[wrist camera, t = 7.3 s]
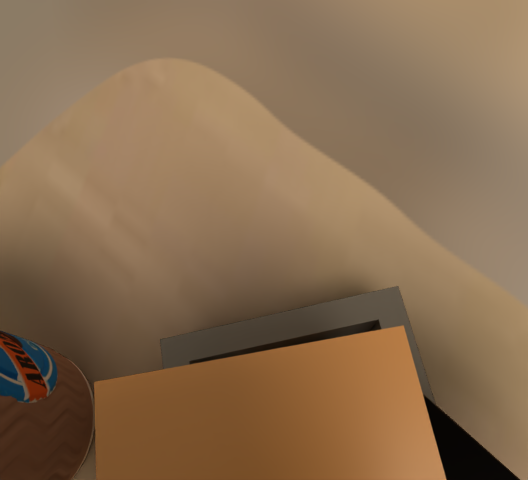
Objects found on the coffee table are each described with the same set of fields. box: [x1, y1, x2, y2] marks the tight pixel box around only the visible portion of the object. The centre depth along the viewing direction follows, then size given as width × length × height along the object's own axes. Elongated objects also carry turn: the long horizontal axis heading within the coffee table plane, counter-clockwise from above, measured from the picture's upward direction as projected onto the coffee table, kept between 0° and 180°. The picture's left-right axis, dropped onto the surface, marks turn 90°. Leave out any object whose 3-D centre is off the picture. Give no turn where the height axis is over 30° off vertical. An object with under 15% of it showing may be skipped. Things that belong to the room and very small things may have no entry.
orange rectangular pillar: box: [94, 325, 446, 480], centre depth 10 cm, size 5×5×10 cm
